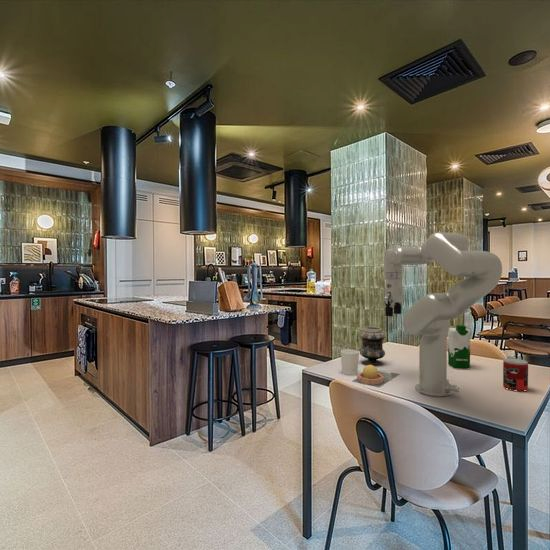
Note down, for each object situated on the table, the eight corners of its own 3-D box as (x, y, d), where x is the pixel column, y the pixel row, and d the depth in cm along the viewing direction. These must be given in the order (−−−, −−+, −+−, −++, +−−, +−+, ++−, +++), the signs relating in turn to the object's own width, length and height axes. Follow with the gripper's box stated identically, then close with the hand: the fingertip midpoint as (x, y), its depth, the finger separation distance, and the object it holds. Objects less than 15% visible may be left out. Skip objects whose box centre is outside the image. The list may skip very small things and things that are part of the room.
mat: (399, 374, 153) (399, 374, 153) (379, 388, 137) (379, 387, 137) (374, 369, 161) (374, 369, 161) (351, 382, 144) (351, 381, 144)
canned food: (498, 385, 139) (499, 358, 139) (519, 385, 139) (519, 358, 139) (511, 392, 132) (511, 363, 132) (532, 392, 132) (533, 363, 131)
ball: (380, 379, 145) (380, 364, 145) (374, 382, 140) (374, 367, 140) (366, 376, 148) (366, 362, 149) (360, 379, 144) (360, 365, 144)
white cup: (359, 376, 151) (359, 353, 151) (340, 375, 153) (340, 353, 153) (358, 371, 159) (358, 349, 159) (340, 370, 161) (340, 349, 160)
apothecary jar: (390, 364, 170) (390, 327, 169) (374, 368, 163) (374, 330, 162) (370, 359, 180) (370, 324, 179) (354, 363, 173) (354, 327, 172)
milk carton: (453, 369, 161) (453, 326, 161) (445, 364, 170) (445, 323, 170) (472, 369, 161) (473, 326, 160) (464, 364, 170) (464, 323, 169)
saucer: (387, 380, 145) (387, 375, 145) (376, 386, 137) (376, 381, 137) (364, 375, 151) (364, 370, 151) (353, 381, 144) (353, 376, 144)
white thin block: (391, 379, 146) (391, 372, 146) (390, 380, 145) (390, 373, 145) (364, 374, 153) (364, 367, 153) (363, 374, 153) (363, 368, 153)
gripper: (394, 277, 145) (394, 317, 146) (408, 276, 159) (408, 313, 159) (377, 276, 150) (377, 316, 151) (392, 276, 163) (392, 312, 164)
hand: (393, 314), depth 155 cm, fingers open, 9 cm apart
